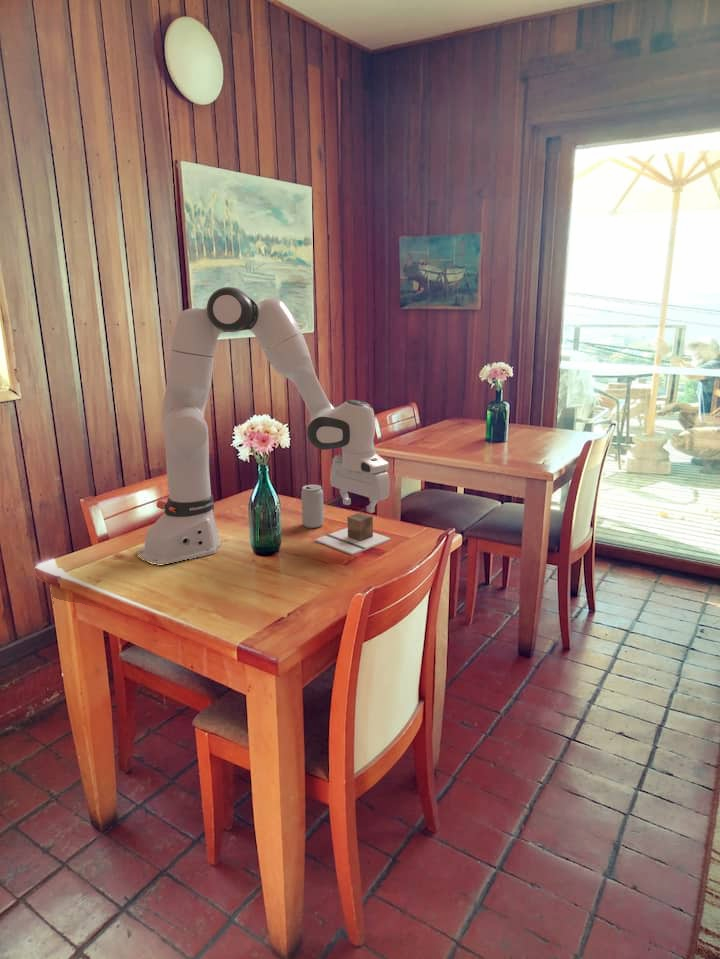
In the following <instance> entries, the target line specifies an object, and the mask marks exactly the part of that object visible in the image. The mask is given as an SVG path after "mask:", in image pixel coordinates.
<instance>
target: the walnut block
mask: <svg viewBox="0 0 720 959" xmlns="http://www.w3.org/2000/svg"><path fill="white" fill-rule="evenodd" d="M373 517H374V516H373V515H368V514H366V513H363V512H357V513H355V514H351V515H349V516H347V528H348V537H349V538H352V539H355V540H358V541H363V540H365V539H368V538H371V537H373V532H374V518H373Z"/></svg>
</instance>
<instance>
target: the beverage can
mask: <svg viewBox="0 0 720 959" xmlns="http://www.w3.org/2000/svg"><path fill="white" fill-rule="evenodd" d="M300 492H301V494H300V495H301V498H300V499H301V519H302V521H301V522H302V525H303V526H304V527H305V528H307V529H317V528H321V526H323V524H325V521H324V520H325V519H324V517H325V514H324V490H323V489H322V486H321V485H319V484H307V485H306V484H305V485H303V486H302V489H301V491H300Z"/></svg>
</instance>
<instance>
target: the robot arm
mask: <svg viewBox="0 0 720 959" xmlns="http://www.w3.org/2000/svg"><path fill="white" fill-rule="evenodd" d="M241 331H250V332H252V334H253V335H254V336H255V338H256V340H257V341H258V343H259V345H260V346H261V347H260V348H261V349H262V351H263V353H264V355H265V357H266V358H267V360H268V362H269V364H270V365H271V366H272V368H273V369H274V371H275V372H277V374H279V375H281V376H283V377H284V378H287V379H288V380H290V381H291V382H292V384H293V385H295V388H296V389H297V390H298V392H299V395H300V396H301V398H302V400H303V402H304V404H305V406H306V407H307V410H308V411H309V415H310V418H309V419H310V422H309V424H308V427H307V431H306V432H307V433H306V434H307V435H306V436H307V437H308V440H309V442H310V443H311V444H312V446H313V447H315V448H316V449H318V450H325V451H326V450H333V449H339V448H341V451H342V455H341V454H335V455H334V456H333V458H332V459H331V460H332V461H331V462H332V464H331V467H330V475H329V476H330V477H329V483H330V485H331V487H333V488H336V489H339V494H340V495H341V498H342V504H343V505H345V506H349V505H351V504H352V500H351V499H352V498H350V497H349V494H348V492H349V493H353V494H356V495H359V496H363V497H365V498H368V501H369V504H368V505H366V512H367V513H370V514H372V513H374V512H376V509H375V508H376V505H377V503H378V502H379V501H383V500H386V499H387V498H388V497H389V496H390V488H391V487H390V474H389V473H388V470H389V468H390V464H389V462H388V461H386V460H385V459H384V458H382V457H381V456H380V455H379V454H378V453H376V447H375V443H374V439H375V436H376V418H375V411H374V408H373V406H371V405H370V404H369V402H365V401H363V400H357V399H348V400H344V402H343V403H342V404H340V405H338V406H337V407H336V406H335V405H334V404H333V403H332V401H330V400H329V398H328V396H327V394H326V392H325V390H324V388H323V386H322V384H321V382H320V380H319V378H318V375H317V374H316V371H315V369H314V364H313V361H312V357H311V353H310V351H309V347H308V343H307V341H306V339H305V336H304V334H303V332H302V331H301V328H300V326H299V324H298V322H297V320H296V319H295V318H294V316H293V314H292V313H291V311H290V309H288V307H287V306H286V305H285V303H284V302H283V301H282V300H280V299H277V298H268V299H264V300H261V301H259V302H256V300H254V299H252V298H250V296H249V295H248V294H247V293H246V292H245V291H244V290H242V289H240V288H237V287H234V286H232V287H231V286H227V287H226V286H225V287H221V288H218V289H216V291H214V292H213V293H212V294H211V295H210V297H209V298H208V300H207V303H206V307H205V308H194V307H193V308H187V309H184V310H183V311H181V312H179V314H178V316H177V319H176V322H175V326H174V330H173V334H172V339H171V345H170V353H169V360H168V361H169V362H168V370H167V379H166V384H165V390H164V391H165V392H164V398H163V403H162V410H161V418H160V426H161V430H162V433H163V439H164V448H165V462H166V463H165V464H166V465H165V466H166V477H167V489H168V498H167V500H166V502H165V501H163V500H158V501H157V502H156V503H155V504H156V505H155V506H156V507H157V508H158V509H161V510H164V513H163V514H162V515H161V516H160V517H159V518H158V519H157V520H156V521H155V522H154V523H153V524H152V525H151V526H150V527H149V528H148V529H147V531H146V533H145V537H144V546H142V547H140V548H137V550H136V555H137V554H138V555H139V556H140V557H141V558H142V559H144V560H146V561H149V562H152V563H156V564H166V563H172V562H177V561H181V560H185V561H188V560H187V559H189V560H194V559H196V558H197V557H198V558H201V557H206V556H209V555H210V556H211V555H213V554H216V553H217V549H218V547H220V545H221V544H222V540H221V538H220V536H219V533H218V529H217V526H216V520H215V516H214V515H215V514H214V512H215V506H214V505H215V503H214V496H213V493H212V489H211V488H212V487H211V478H210V477H211V476H210V446H209V445H210V443H209V442H210V440H209V439H210V438H209V426H208V423H207V421H206V419H205V411H206V407H207V402H208V398H209V394H210V390H211V387H212V380H213V379H212V378H213V371H214V364H215V355H216V349H217V348H216V347H217V342H218V338H219V337H220V335H221V334H223V333H238V332H241ZM193 558H194V559H193ZM181 562H182V561H181ZM177 563H178V562H177Z"/></svg>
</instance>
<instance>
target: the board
mask: <svg viewBox="0 0 720 959" xmlns="http://www.w3.org/2000/svg"><path fill="white" fill-rule="evenodd" d="M391 540H392V539H391V537H388V536H386V535H383V534H379V533H376V532H374V531H373V537H371V538H368V539H365V540H363V541H358V540H355V539H352V538H349V537H348V527H345V528H342V529H340V530H336V531H334V532H332V533H328V534H325V535H323V536H320V537H317V538H315V539H314V541H315V542H316V543H318V544H319V543H320V544H322V545H325V546H328V547H330V548H333V549H336V550H338V551H339V552H342V553H346V554H348V555H351V556H354V555H357V554H359V553H361V552H363V551H366V550H369V549H371V548H373V547H376V546H379V545H381V544H384V543H387V542H389V541H391Z"/></svg>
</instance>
